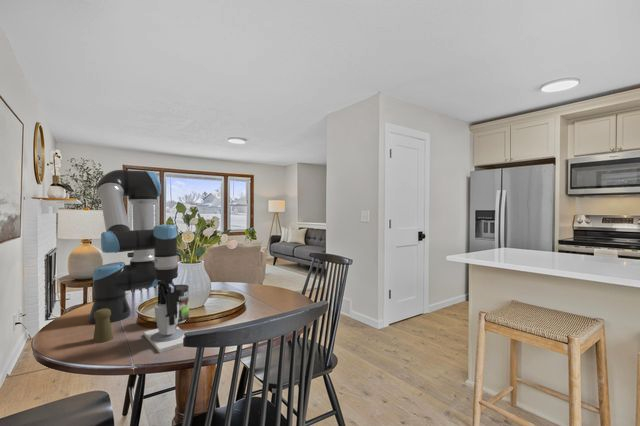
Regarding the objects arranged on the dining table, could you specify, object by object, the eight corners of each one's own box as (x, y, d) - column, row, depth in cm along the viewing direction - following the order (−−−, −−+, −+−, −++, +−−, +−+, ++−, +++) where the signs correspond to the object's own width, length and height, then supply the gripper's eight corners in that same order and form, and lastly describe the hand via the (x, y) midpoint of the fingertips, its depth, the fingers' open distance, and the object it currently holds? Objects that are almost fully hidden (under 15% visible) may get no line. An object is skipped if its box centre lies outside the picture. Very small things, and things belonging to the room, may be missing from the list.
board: (144, 335, 120) (144, 331, 120) (174, 327, 127) (174, 323, 127) (159, 352, 105) (159, 348, 105) (193, 343, 112) (193, 338, 112)
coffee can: (194, 316, 139) (193, 284, 139) (179, 325, 129) (178, 290, 129) (173, 315, 141) (172, 283, 141) (157, 324, 131) (156, 289, 131)
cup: (178, 334, 113) (177, 306, 113) (152, 337, 111) (152, 309, 111) (181, 326, 121) (180, 300, 121) (157, 329, 119) (156, 302, 118)
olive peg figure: (91, 344, 112) (90, 313, 112) (94, 338, 117) (93, 308, 117) (112, 340, 115) (111, 310, 115) (114, 334, 120) (113, 305, 120)
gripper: (147, 265, 120) (148, 325, 121) (163, 273, 105) (165, 342, 106) (168, 262, 125) (169, 320, 126) (186, 270, 110) (188, 335, 111)
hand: (167, 330), depth 116 cm, fingers closed on cup, 8 cm apart
